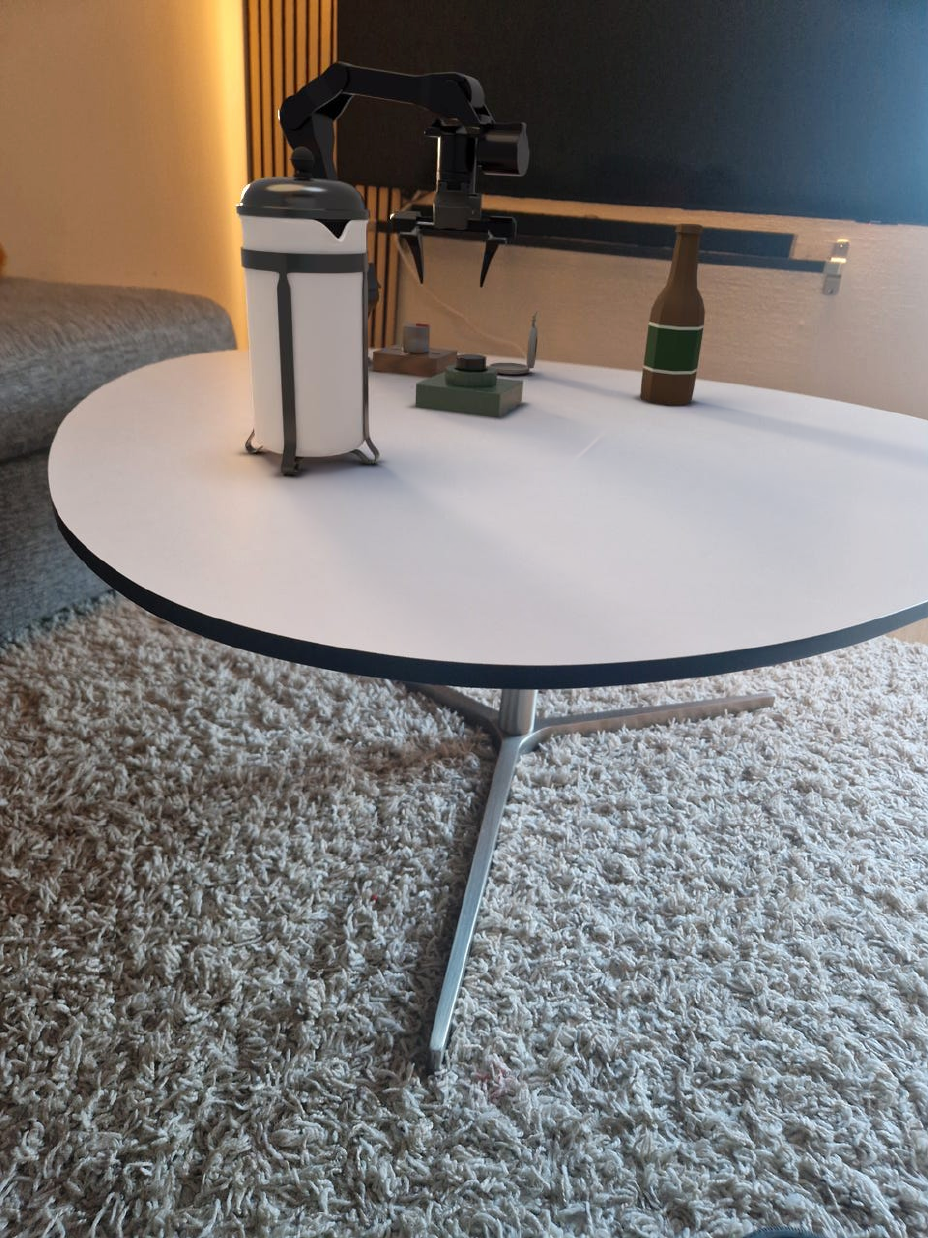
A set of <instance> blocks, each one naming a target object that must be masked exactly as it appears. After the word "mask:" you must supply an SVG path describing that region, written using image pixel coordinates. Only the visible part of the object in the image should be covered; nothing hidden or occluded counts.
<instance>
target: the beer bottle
mask: <svg viewBox="0 0 928 1238" xmlns="http://www.w3.org/2000/svg"><path fill="white" fill-rule="evenodd" d="M674 232H675V234H676V238H675V243H674V248H673V254H672V259H671V264H670V269H669V274H668V277H667V280H666V284H665V286H664V288H662V290H661V292H659V294H658V295H657V297H656V299H655V300H654V303H653V305H652V307H651V311H650V315H649V320H648V327H647V335H646V342H645V352H644V357H643V367H642V375H641V382H640V392H639V393H640V394H639V395H640V396H639V397H640V399H641V400H643V401H645V402H647V403H649V404H656V405H663V406H687V405H688V404H689V403H691V402H692V400H693V396H694V391H695V386H696V379H697V374H698V368H699V367H698V366H699V359H700V353H701V347H702V341H703V333H704V327H705V317H706V316H705V315H706V310H705V304H704V299H703V297H702V295H701V293H700V290H699V289H698V268H699V267H698V266H699V256H700V245H701V235H703V234H704V229H703V225H702V224H699V223H679V224H677V226H676V227H675V231H674Z"/></svg>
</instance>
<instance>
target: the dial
mask: <svg viewBox="0 0 928 1238" xmlns="http://www.w3.org/2000/svg"><path fill="white" fill-rule="evenodd" d="M401 337H402V338H401V339H402V341H401V343H402V344H401V345H402V350H403V351H404V352H409V353H427V352H429V351H430V348H431V347H430V345H431V344H430V343H431V325H430V323H421V322H410V323H409V322H408V323H407V322H406V323H403V324H402V336H401Z"/></svg>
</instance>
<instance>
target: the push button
mask: <svg viewBox="0 0 928 1238" xmlns="http://www.w3.org/2000/svg"><path fill="white" fill-rule="evenodd" d="M486 366H487V356H486V355H483V354H476V353H460V354H457V369H456V370H459V371H465V372H484V371H486Z"/></svg>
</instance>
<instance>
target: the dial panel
mask: <svg viewBox="0 0 928 1238" xmlns="http://www.w3.org/2000/svg"><path fill="white" fill-rule="evenodd" d="M457 355H458V350H454V349H444V348H435V347H430V351H429V352H427V353H409V352H404V351H403V350H402V344H398V343H397V344H394V345H393V344H392V345H390V346H387V347H384V348H380V349H378V350H374V351H372V371H373V372H379V373H380V372H381V373H390V374H399V375H408V376H415V377H417V376H418V377H426V378H431V377H433V376H436V375H438V374H440V373H443V372H445V367H447V366H450V365H457Z"/></svg>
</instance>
